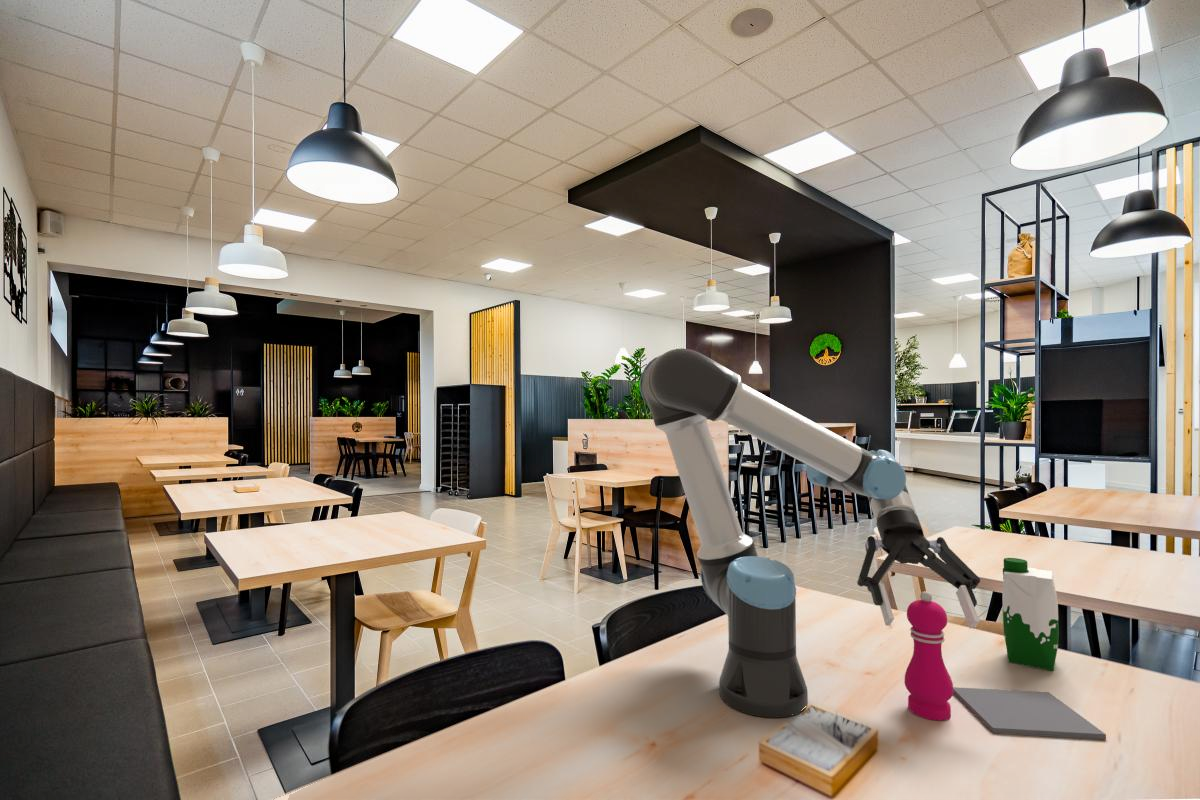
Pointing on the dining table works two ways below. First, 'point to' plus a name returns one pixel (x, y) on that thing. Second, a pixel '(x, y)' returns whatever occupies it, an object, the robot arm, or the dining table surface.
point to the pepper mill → (928, 661)
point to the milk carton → (1029, 615)
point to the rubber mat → (1026, 713)
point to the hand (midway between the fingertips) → (932, 623)
